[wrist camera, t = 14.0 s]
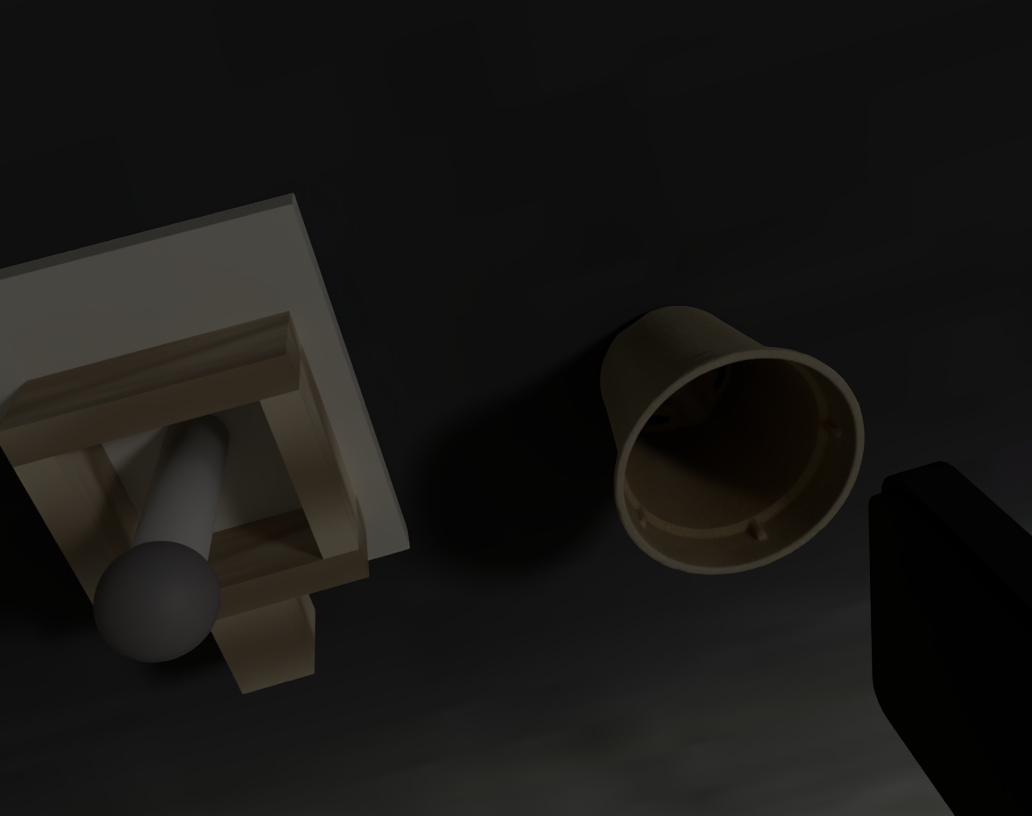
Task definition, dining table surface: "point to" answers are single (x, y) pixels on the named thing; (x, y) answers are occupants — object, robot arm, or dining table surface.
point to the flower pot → (724, 442)
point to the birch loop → (234, 551)
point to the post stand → (203, 440)
